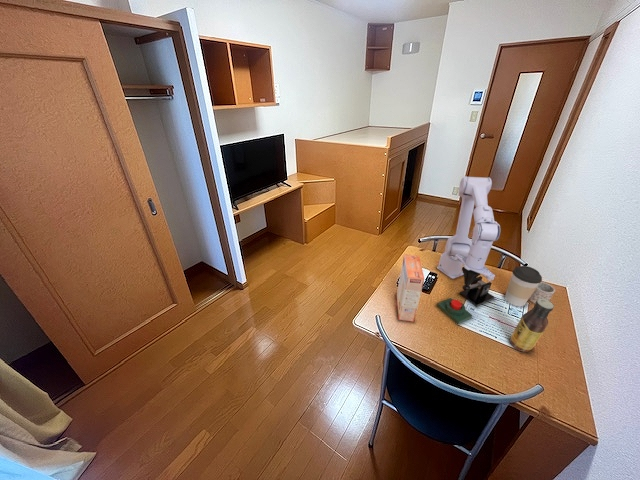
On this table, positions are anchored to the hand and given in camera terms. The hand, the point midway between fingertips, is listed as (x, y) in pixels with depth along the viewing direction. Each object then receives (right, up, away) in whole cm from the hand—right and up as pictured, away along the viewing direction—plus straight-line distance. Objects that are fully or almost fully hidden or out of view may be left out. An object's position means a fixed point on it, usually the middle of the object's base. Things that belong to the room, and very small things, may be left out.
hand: (467, 284), depth 97 cm
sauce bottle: (+11, -19, -11) cm, 24 cm away
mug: (+31, -7, +8) cm, 32 cm away
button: (-4, -8, 0) cm, 10 cm away
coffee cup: (+23, -8, +6) cm, 25 cm away
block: (-4, -11, +2) cm, 12 cm away
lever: (+4, -2, +4) cm, 6 cm away
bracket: (+8, -7, +9) cm, 14 cm away
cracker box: (-22, -10, +5) cm, 25 cm away
